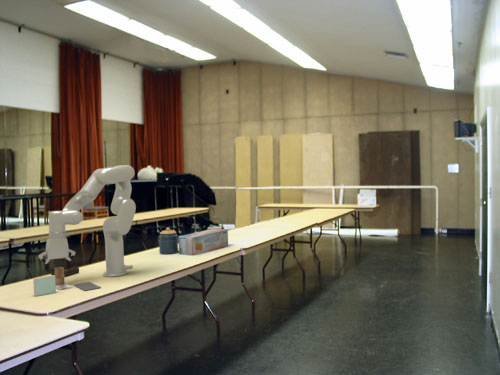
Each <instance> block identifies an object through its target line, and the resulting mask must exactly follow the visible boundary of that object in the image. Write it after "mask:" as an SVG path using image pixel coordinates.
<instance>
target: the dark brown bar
mask: <svg viewBox="0 0 500 375" xmlns="http://www.w3.org/2000/svg"><path fill="white" fill-rule="evenodd" d="M74 274H80V268H79V266H74V267H69V269H64V277H66V276H70V275H74ZM51 275H55V270H54V271H52V272H51ZM51 275H50V276H51Z"/></svg>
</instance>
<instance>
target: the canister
mask: <svg viewBox="0 0 500 375" xmlns="http://www.w3.org/2000/svg"><path fill="white" fill-rule="evenodd" d="M159 234H160V235H158V238H159V240H158V243H159V245H158V246H159V250H158V252H159V254H160V255H174V254H177V253H178V254H179V243H178V234H177V231H175V230H174V229H171V228H170V227H166V228H165V230H161V232H159Z"/></svg>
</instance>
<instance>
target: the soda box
mask: <svg viewBox="0 0 500 375" xmlns="http://www.w3.org/2000/svg"><path fill="white" fill-rule="evenodd" d="M177 240H178V255H183V256H197V255H201V254H204V253H205V254H206V253H208V252H212V251H216V250H219V249H222V248H225V247H226V248H227V247H229V230H228V229H224V228H223V229H222V228H211V229H206V230H202V231H201V230H200V231H196V232H193V233H188V234H182V235H179V236H177Z"/></svg>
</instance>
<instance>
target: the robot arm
mask: <svg viewBox="0 0 500 375" xmlns="http://www.w3.org/2000/svg"><path fill="white" fill-rule="evenodd" d="M134 177H135V169H134V168H133V167H132V166H131V165H129V164H125V165H124V164H122V165H114V166H113V167H104V168H98V169H96V170H94V171H93V172H92V174H91V175H90V176H89V178H88V180H86V182H85V184H84V185H83V186H82V187H81V189H80V190H79V191H78V192H77V193H76V194H75V195H74V196H73V197H72V198H70V199H69V201H68V202H67V203H66V204H65V205H64V207H63V208H62V210H53V211H49V212H48V238H47V239H46V244H45V251H44V252H42V253H39V254H38V259H39V260H40V261H41V262H42V263H44V271H45V272H47V273H49V272H50V263H49V262H51V260H59V259H65V270H67V269H70V268H71V261H72V259H73V258H74V257H75V256H76V251H75V250H73V249H70V248H69V243H68V239H67V236H69V232H66V225H67V226H69V225H71V226H75V225H77V226H78V225H79V224H81V222H82V221H83V219H84V216H83V214H82V212H80V210H81V209H82V208H83V207H84V206H86V205H87V204H90V203H92V202H93V201H94V200H96V198H97V197H98V195H99V194H100V193H101V191H102V190H103V188H104V187H105V186H106V185H113V184H115V191H114V194H113V198H112V201H111V204H110V211H111V213H112V214H113V215H116V216H109V217H107V218H106V219H105V220H104V221H103V224H102V230H103V232H102V233H103V235H104V248H105V271H104V272H103V276H104V277H106V278H107V277H110V278H111V277H112V278H113V277H114V278H116V277H121V276H122V277H123V276H126V275H127V274H128V270H132V269H133V268H134V266H133V264H129V265H126V264H125V256H124V249H125V248H124V238H123V236H125V235H127V234H128V233H129V232H130V231H131V227H132V225H133V221H134V218H135V214H136V208H137V206H136V203H135V201H134V200H133V199H132V198H131V194H132V189H133V188H132V184H131V180H132V179H133V178H134ZM70 253H71V255H70V256H69V254H70ZM44 256H45V258H44Z"/></svg>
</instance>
